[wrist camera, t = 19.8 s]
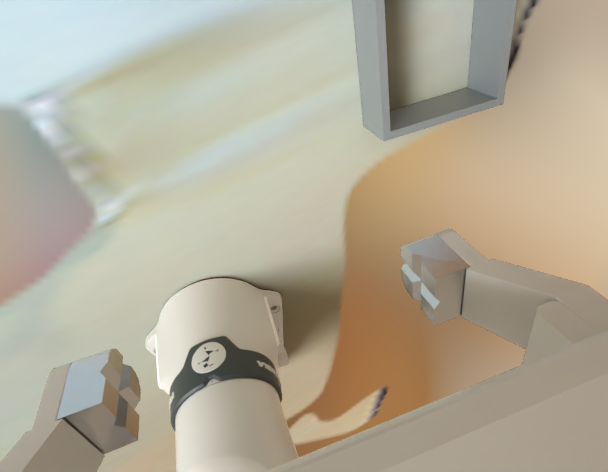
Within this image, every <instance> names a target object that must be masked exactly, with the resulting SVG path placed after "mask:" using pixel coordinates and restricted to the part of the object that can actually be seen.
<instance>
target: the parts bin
mask: <svg viewBox="0 0 608 472" xmlns="http://www.w3.org/2000/svg"><path fill="white" fill-rule="evenodd" d="M352 4H353V16H354V27H355V38H356V49H357V60H358V71H359V82H360V93H361V104H362V115H363V126H364V127H366V128H367V129H368V130H370V131H371V132H372V133H374V134H375V135H376V136H377V137H379V138H380V139H381V140H383V141H386V140H389V139H393V138H396V137H399V136H402V135H405V134H409V133H412V132H415V131H418V130H421V129H425V128H428V127H431V126H434V125H437V124H441V123H444V122H447V121H450V120H454V119H457V118H460V117H463V116H466V115H470V114H472V113H475V112H479V111H482V110H486V109H489V108H492V107H495V106H498V105H502V104H503V101H504V93H505V86H506V79H507V71H508V64H509V56H510V49H511V42H512V34H513V27H514V19H515V12H516V4H517V0H474V11H473V24H472V37H471V50H470V63H469V76H468V88H465V89H461V90H458V91H455V92H451V93H448V94H445V95H441V96H438V97H435V98H431V99H428V100H425V101H421V102H418V103H415V104H411V105H408V106H405V107H402V108H398V109H395V110H392V111H390V109H389V87H388V66H387V44H386V23H385V1H384V0H352Z"/></svg>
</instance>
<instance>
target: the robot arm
mask: <svg viewBox="0 0 608 472" xmlns="http://www.w3.org/2000/svg"><path fill="white" fill-rule="evenodd" d="M401 258H402V259H403V260H404V262H405V263H404V265H403V266H402V268H401V273H402V279H403V282H404V285H405V287H406V289H407V291H408V293H409V294H410V295H411V297H412V298H414V299H416V300H419V301H421V310H422V311H423V312H424V313H425V315H426V316H427V317H428V319H429V320H430V321H431V322H432V324H433V325H436V324H439V323H442V322H445V321H448V320H451V319H453V318H456V317H459V316H462V318H464V319H466V320H468V321H470V322H472V323H474V324H476V325H478V326H480V327H482V328H484V329H487V330H488V331H490V332H492V333H494V334H496V335H498V336H500V337H502V338H504V339H506V340H508V341H510V342H512V343H514V344H516V345H518V346H520V347H522V348H524V349H526V351H525V355H524V359H523V362H522V365H521V366H518V367H516V368H514V369H511V370H509V371H507V372H504V373H501V374H499V375H497V376H495V377H492V378H489V379H487V380H485V381H482V382H480V383H477V384H475V385H473V386H470V387H468V388H465V389H463V390H461V391H458V392H456V393H453V394H451V395H449V396H446V397H444V398H441V399H439V400H437V401H434V402H432V403H429V404H427V405H425V406H422V407H420V408H418V409H415V410H413V411H410V412H408V413H405V414H403V415H401V416H398V417H396V418H393V419H391V420H388V421H386V422H384V423H382V424H379V425H377V426H374V427H372V428H369V429H367V430H365V431H362V432H360V433H357V434H355V435H352V436H350V437H348V438H345V439H343V440H340V441H338V442H335V443H333V444H331V445H328V446H326V447H324V448H321V449H319V450H316V451H314V452H311V453H309V454H307V455H304V456H302V457H298V454H297V451H296V448H295V446H294V443H293V440H292V437H291V434H290V431H289V429H288V426H287V422H286V419H285V416H284V413H283V409H282V406H281V401H282V393H281V384H280V380H279V376H278V368H279V367H281V366H284V365H288V364H289V361H288V356H287V352H286V349H285V348H284V340H283V313H282V298H281V295H280V293H278V292H275V291H270V290H261V289H258V288H256V287H254V286H252V285H250V284H248V283H246V282H243V281H240V280H236V279H229V278H216V279H208V280H204V281H200V282H197V283H194V284H192V285H189V286H187V287H185V288H184V289H182V290H180V291H179V292H177V293H176V294H175V295H174V296H173V297H171V298H170V299H169V301H168V302H167V303H166V304H165V306H164V307H163V309H162V311H161V313H160V317H159V320H158V323H157V325H156V327H155V328H154V329H153V330H152V331H151V332H150V333H149V335H148V336H147V337H146V339H145V344H146V348H147V349H148V350H149V351H150V352H151V353H152V354H153V355H155V356H156V362H157V376H158V385H159V387H160V389H163V390H164V391H165V392H166V393H167V394H169V395H170V400H169V413H170V416H171V424H172V427H173V429H174V431H175V434H176V472H608V300H607V299H606V298H605V297H603V296H602V295H601V294H599V293H598V292H596V291H595V290H593V289H592V288H591V287H590V286H588V285H585V284H582V283H578V282H574V281H571V280H567V279H563V278H560V277H556V276H553V275H549V274H546V273H542V272H539V271H535V270H531V269H527V268H524V267H521V266H517V265H513V264H510V263H506V262H503V261H499V260H496V259H491V260H487V259H486V258H485V257H484V256H483V255H482V254H480V253H479V252H478V251H477V250H476V249H475V248H474V247H472V246H471V245H470V244H469V243H468V242H467V241H465V240H464V239H463V238H462V237H461V236H459V234H457V233H456V232H455V231H454V230H452V229H447V230H445V231H442V232H439V233H437V234H434V235H432V236H428V237H426V238H423V239H420V240H417V241H415V242H412V243H409V244H406V245H404V246H402V248H401ZM272 306H274V307H272ZM122 360H123V356H122V355H121V354H120V352H119V351H118V350H117V349H110V350H107V351H104V352H101V353H98V354H95V355H92V356H89V357H86V358H83V359H80V360H77V361H74V362H72V363H69V364H66V365H63V366H60V367H57V368H53V370H52V371H51V372H50V373H49V375H48V378H47V381H46V385H45V388H44V391H43V395H42V398H41V402H40V405H39V408H38V412H37V415H36V419H35V422H34V426H33V429H32V430H30V431H27V432H26V433H25V434H24V435H23V436H22V437H21V439H20V440H19V441H18V442H17V443H16V445H15V446H14V447H13V448H12V449H11V451H10V452H9V453H8V454H7V455H6V457H5V458H4V459H3V460H2V461H1V463H0V472H97V470H98V468H99V466H100V464H101V462H102V460H103V458H104V457H105V456H104V454H106V453H108V452H111V451H113V450H115V449H118V448H120V447H123V446H125V445H127V444H130V443H132V442H135V441H137V440H138V430H139V415H138V414H137V412H136V411H135V410H134V409H135V407H136V406H137V404H138V403H139V401H140V391H141V390H140V385H139V380H138V377H137V375H136V373H135V371H134V370H133V369H132V367H131V366H128V365H125V364H122Z"/></svg>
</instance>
